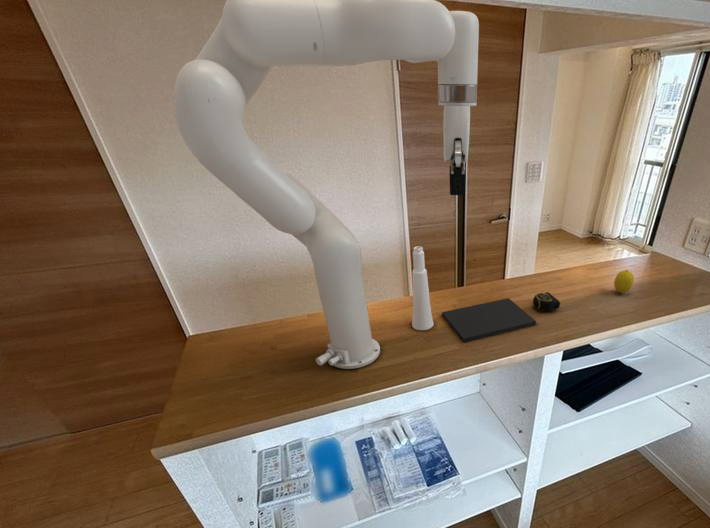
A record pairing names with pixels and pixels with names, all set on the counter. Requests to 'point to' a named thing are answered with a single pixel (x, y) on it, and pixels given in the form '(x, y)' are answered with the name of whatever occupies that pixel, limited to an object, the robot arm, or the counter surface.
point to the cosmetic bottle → (420, 293)
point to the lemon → (624, 281)
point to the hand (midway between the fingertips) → (456, 189)
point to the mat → (487, 319)
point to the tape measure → (545, 302)
